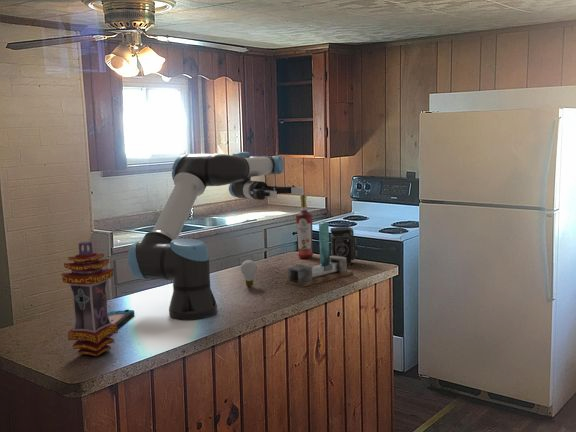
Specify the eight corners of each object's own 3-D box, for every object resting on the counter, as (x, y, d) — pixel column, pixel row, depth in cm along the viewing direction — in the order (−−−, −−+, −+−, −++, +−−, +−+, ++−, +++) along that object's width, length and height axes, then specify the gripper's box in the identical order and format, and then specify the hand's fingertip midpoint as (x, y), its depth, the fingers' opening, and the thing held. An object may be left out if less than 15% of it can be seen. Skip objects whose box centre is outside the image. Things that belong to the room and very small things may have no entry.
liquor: (315, 255, 281) (313, 193, 278) (312, 259, 274) (309, 195, 270) (299, 255, 283) (296, 193, 279) (295, 259, 276) (293, 195, 272)
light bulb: (258, 284, 233) (257, 258, 232) (256, 289, 228) (255, 261, 226) (243, 285, 234) (241, 258, 233) (240, 289, 228) (239, 262, 227)
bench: (302, 286, 228) (301, 268, 227) (286, 282, 235) (285, 265, 234) (352, 273, 245) (352, 257, 244) (336, 270, 251) (335, 254, 250)
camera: (358, 265, 258) (357, 229, 256) (332, 266, 258) (331, 230, 256) (355, 260, 268) (355, 225, 266) (331, 261, 269) (329, 226, 266)
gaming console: (106, 310, 203) (135, 307, 202) (107, 317, 203) (136, 315, 202) (72, 334, 179) (105, 332, 178) (73, 343, 180) (107, 340, 179)
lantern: (67, 357, 165) (57, 244, 161) (90, 345, 173) (81, 238, 169) (98, 361, 161) (88, 246, 157) (120, 349, 170) (111, 239, 166)
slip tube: (308, 278, 233) (306, 226, 230) (301, 277, 236) (299, 225, 233) (342, 270, 244) (341, 220, 242) (335, 268, 247) (334, 219, 245)
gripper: (280, 196, 269) (313, 199, 253) (232, 202, 253) (264, 206, 237) (279, 178, 268) (313, 180, 252) (231, 183, 252) (263, 186, 236)
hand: (289, 193), depth 244 cm, fingers open, 13 cm apart
